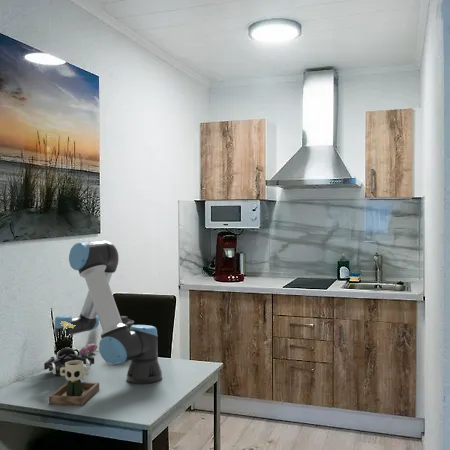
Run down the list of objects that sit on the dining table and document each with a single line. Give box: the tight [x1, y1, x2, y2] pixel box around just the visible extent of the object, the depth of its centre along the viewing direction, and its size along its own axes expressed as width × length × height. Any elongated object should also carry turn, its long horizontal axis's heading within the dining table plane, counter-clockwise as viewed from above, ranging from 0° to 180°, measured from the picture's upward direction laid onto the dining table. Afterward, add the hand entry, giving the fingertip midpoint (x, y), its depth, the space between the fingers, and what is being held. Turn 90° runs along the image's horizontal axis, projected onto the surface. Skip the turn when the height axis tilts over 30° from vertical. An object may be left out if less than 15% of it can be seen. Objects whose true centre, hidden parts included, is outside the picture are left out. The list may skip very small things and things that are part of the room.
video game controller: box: [76, 343, 98, 356], centre depth 269 cm, size 10×5×7 cm, turn 150°
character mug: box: [59, 360, 89, 396], centre depth 209 cm, size 11×7×13 cm, turn 95°
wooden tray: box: [48, 381, 100, 407], centre depth 209 cm, size 13×17×3 cm
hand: (72, 368), depth 215 cm, fingers open, 13 cm apart
